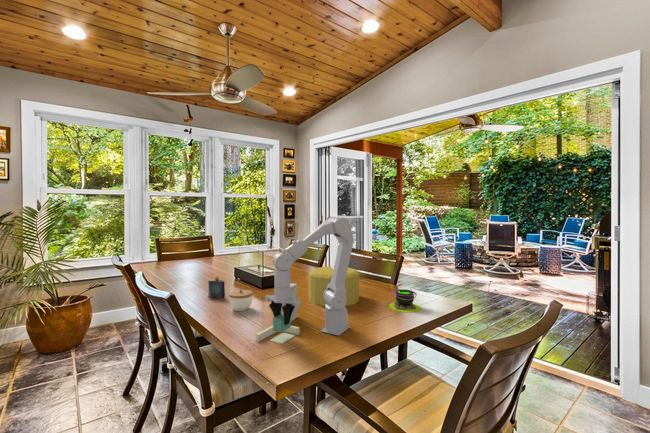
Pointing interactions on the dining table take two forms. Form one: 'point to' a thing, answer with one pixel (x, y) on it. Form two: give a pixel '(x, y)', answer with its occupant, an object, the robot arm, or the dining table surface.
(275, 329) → the teal brick
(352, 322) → the dining table surface
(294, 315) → the skincare box
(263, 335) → the corner walls
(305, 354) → the dining table surface
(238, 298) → the lidded jar
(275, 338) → the pad
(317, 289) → the cheese
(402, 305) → the toy cauldron
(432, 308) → the dining table surface
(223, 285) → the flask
